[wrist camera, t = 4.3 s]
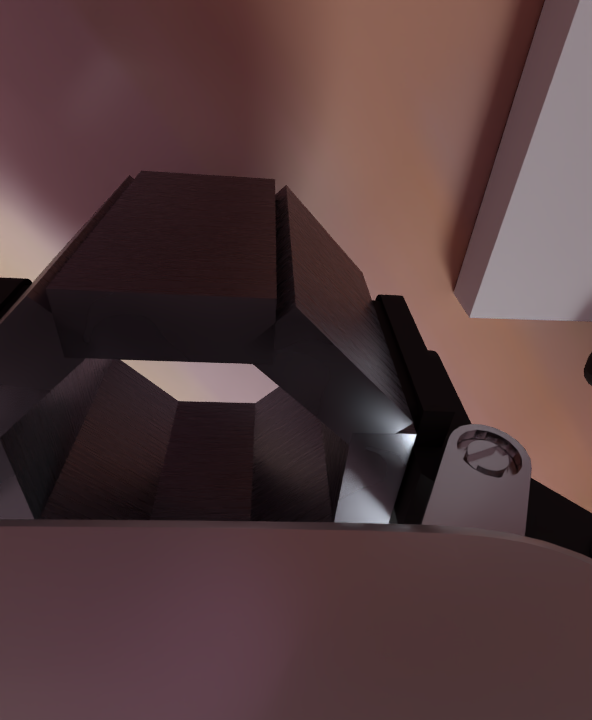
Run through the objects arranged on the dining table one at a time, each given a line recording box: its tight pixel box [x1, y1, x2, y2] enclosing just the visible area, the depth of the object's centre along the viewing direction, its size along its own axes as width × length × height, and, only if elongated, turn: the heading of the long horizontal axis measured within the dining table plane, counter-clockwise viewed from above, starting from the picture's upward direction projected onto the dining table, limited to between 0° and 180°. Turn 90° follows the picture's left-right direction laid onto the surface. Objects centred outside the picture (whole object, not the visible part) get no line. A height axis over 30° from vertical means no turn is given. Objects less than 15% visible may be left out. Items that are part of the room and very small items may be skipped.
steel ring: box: [0, 171, 417, 524], centre depth 10 cm, size 7×7×5 cm
